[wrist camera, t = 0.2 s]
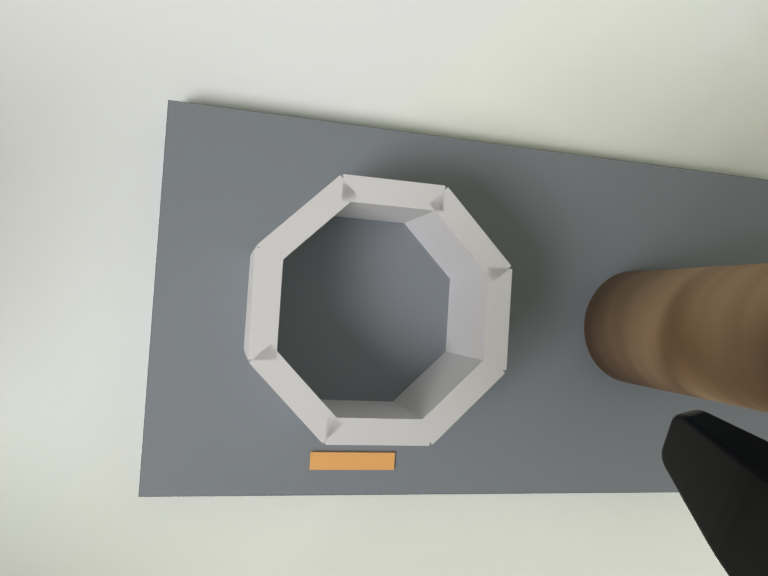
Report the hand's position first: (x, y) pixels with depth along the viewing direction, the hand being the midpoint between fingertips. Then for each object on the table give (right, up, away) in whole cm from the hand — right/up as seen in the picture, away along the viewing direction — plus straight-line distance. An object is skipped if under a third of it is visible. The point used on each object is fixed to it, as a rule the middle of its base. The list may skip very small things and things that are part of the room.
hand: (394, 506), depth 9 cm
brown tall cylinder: (+10, +1, +17) cm, 19 cm away
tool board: (+4, +2, +16) cm, 17 cm away
